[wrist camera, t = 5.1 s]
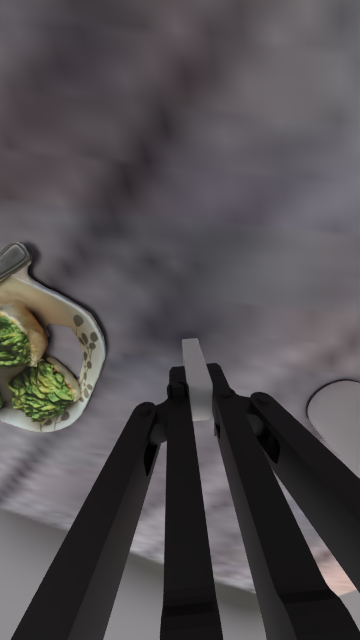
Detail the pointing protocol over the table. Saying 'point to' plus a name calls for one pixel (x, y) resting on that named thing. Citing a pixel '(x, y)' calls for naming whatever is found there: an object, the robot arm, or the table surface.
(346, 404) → the milk bottle
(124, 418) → the table surface
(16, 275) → the salad plate
